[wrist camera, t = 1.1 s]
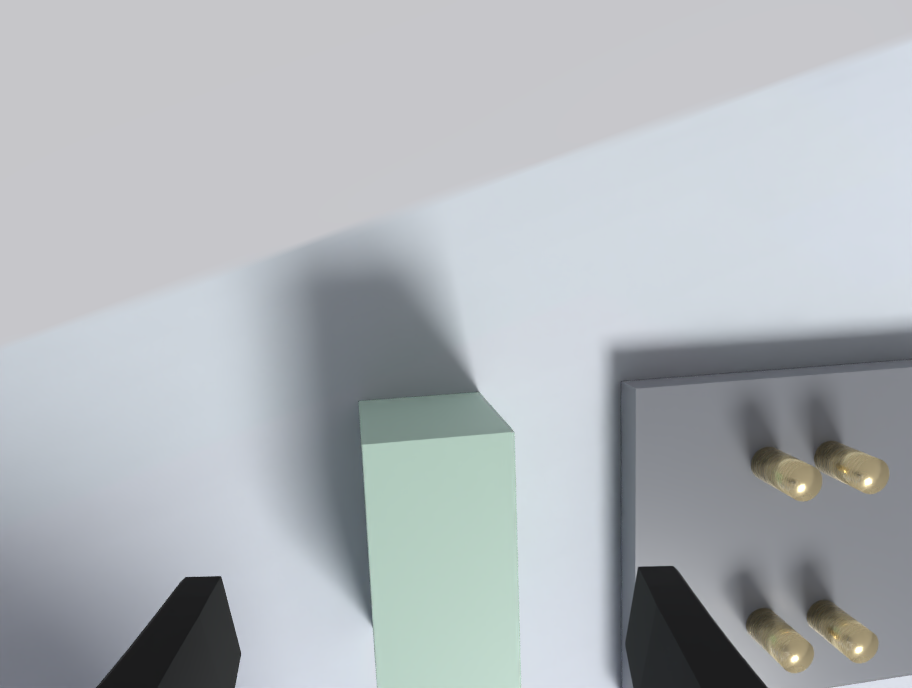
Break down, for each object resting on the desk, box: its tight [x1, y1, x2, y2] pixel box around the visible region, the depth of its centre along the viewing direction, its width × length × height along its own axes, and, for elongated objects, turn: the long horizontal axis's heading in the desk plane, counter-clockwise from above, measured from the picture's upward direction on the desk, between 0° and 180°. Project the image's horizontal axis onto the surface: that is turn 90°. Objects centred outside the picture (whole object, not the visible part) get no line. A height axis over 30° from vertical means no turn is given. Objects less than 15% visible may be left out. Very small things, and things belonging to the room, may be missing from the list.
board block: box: [358, 392, 521, 688], centre depth 21 cm, size 8×4×5 cm, turn 2°
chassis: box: [621, 359, 912, 688], centre depth 24 cm, size 12×12×3 cm
